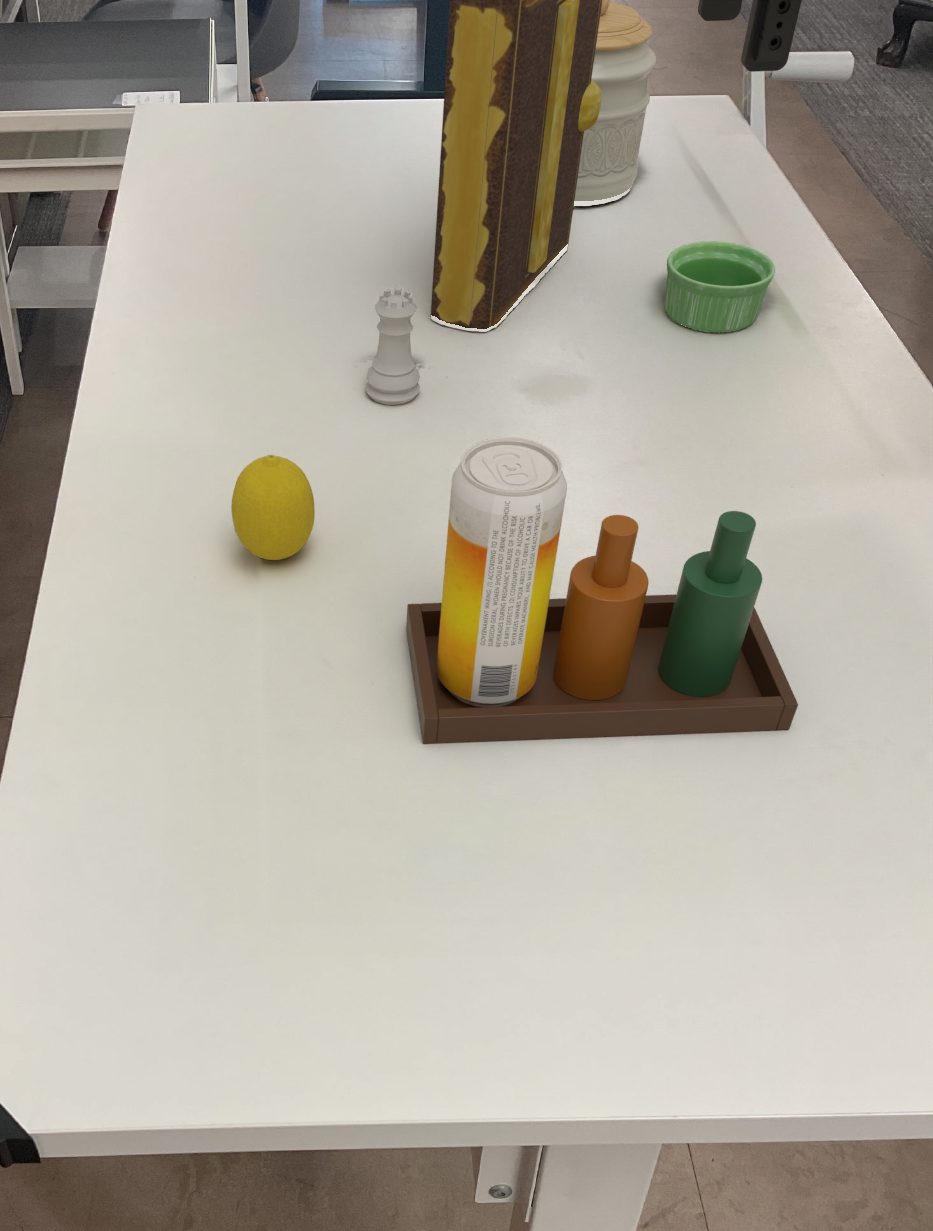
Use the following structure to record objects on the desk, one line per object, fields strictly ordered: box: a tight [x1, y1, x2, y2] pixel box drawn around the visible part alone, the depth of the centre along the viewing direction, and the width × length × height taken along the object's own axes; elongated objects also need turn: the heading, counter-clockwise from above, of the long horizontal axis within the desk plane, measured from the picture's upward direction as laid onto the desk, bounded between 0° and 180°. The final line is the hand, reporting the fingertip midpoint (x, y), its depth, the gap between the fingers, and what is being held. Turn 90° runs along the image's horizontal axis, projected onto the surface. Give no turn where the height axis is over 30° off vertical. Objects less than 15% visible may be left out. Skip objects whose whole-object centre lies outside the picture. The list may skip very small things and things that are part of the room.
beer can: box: [437, 436, 568, 707], centre depth 71 cm, size 6×6×15 cm
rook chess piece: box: [364, 287, 421, 406], centre depth 98 cm, size 4×4×8 cm
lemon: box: [230, 454, 316, 561], centre depth 83 cm, size 6×6×8 cm
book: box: [430, 0, 602, 329], centre depth 106 cm, size 22×8×25 cm, turn 152°
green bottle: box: [658, 510, 763, 697], centre depth 73 cm, size 4×4×11 cm
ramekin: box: [663, 240, 776, 334], centre depth 108 cm, size 9×9×4 cm
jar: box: [574, 0, 657, 201], centre depth 123 cm, size 13×13×18 cm
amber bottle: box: [554, 514, 650, 701], centre depth 73 cm, size 4×4×11 cm
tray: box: [405, 593, 799, 745], centre depth 76 cm, size 22×11×3 cm, turn 93°
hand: (738, 42), depth 67 cm, fingers open, 8 cm apart
